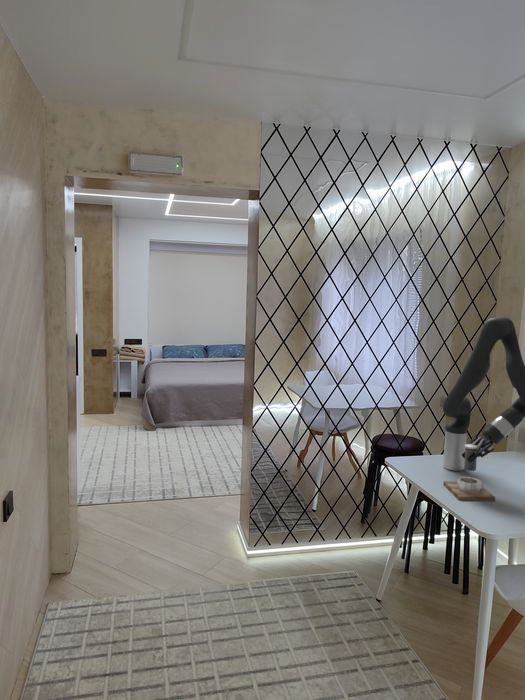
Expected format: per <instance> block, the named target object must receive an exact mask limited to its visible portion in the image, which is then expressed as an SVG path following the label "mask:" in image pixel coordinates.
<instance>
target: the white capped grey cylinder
mask: <svg viewBox="0 0 525 700" xmlns="http://www.w3.org/2000/svg"><path fill="white" fill-rule="evenodd" d="M476 449H477V445H472V444H468V443H466V444H465V462H464V470H466V471H470V472H471V471H472V472H474V471H477V461H478V459H477V458H478V457H477V458H476V459H475V460H474V461H472V462H471V463H470V462H469V461H468V460H467V458H468V457H469V456H470V455H471V454H472V453H474V451H475V450H476Z"/></svg>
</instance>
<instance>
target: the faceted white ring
mask: <svg viewBox="0 0 525 700" xmlns="http://www.w3.org/2000/svg"><path fill="white" fill-rule="evenodd" d="M456 481H457V488H458V489H459V490H461V491H463V492H468V493H478V492H480V488H481V486H482V481H481V480H480V479H478V478H475V477H471V476H458V477H457V479H456Z"/></svg>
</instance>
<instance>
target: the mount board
mask: <svg viewBox="0 0 525 700" xmlns="http://www.w3.org/2000/svg"><path fill="white" fill-rule="evenodd" d="M443 486H444V487H445V488H446V489H447V490H448V491H449V492H450V493H451V494H452V495H453V496H454V497H455V498H456V499H457V500H458V501H482V502H483V501H491V502H495V501H496V496H494V495H493V494H492V493H491V492H490V491H488V490H487V489H486V488H485V487H484V486H482V485H481V488H480V492H478V493H468V492H463V491H461V490H459V489H458V488H457V480H456V481H451V480H450V481H446V480H444V481H443Z"/></svg>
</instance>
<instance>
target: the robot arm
mask: <svg viewBox="0 0 525 700" xmlns="http://www.w3.org/2000/svg"><path fill="white" fill-rule="evenodd" d="M477 338H478V339H477V341H476V343H475V346H474V347H473V350H472V351H471V354H470V355H469V358H468V359H467V361H466V363H465V365H464V367H463V369H462V371H461V374H460V375H459V377H458V379H457V381H456V383H455V384H454V386H453V387H452V389H451V390H450V392H449V393H448V395H447V396H446V398H445V400H444V401H443V405H442V412H443V414H444V415H445V416H446V417H448V418H452V419H451V420H450V421H449V422H448V423H446V425H445V433H444V449H443V462H442V465H443V468H444V469H446V470H448V471H454V472H455V471H456V472H462V471H464V470H465V469H464V462H465V444H472V445H477V449H476V450H475V451H474V453H472V454H471V455H470V456H469V457H468V458H467V460H468V461H469V462H470V463H471V462H472V461H474V460H475V459H476V458H479V457H480V458H484V457H486V456H487V455H488V454H490V453H491V452H493V451H494V450H495V447H494V446H493V445H498V444H500V443H502V441H503V440H504V439H505V438H506V437H507V436H508V435H510V434H511V432H512V431H513V430H514V429H516V427H517V426H518V425H519V424H521V423H522V422H523V420H524V418H525V363H524V360H523V356H522V352H521V347H520V344H519V340H518V334H517V331H516V327H515V324H514V322H513V320H511V319H510V318H509V317H504V316H500V317H499V316H498V317H491V318H489V319H487V320H486V321H485V322H484V324H483V325H482V328H481V329H480V334H479V335H478V337H477ZM499 340H500V341H501V343H502V345H503V346H504V347H503V348H504V351H505V369H506V373H507V376H508V379H509V380H510V383H511V385H512V387H513V388H514V389H515V390H516V392H517V394H518V396H519V397H518V398H517V399H516V400H515V401H514V402H513V403H512V404H511V405H510V406H509V407H508V408H506V409H505V410H504V411H502V413H500V414H499V416H497V417H496V418H494V419H493V420H492V421H491V422H490V423H489V424H487V425H486V427H484V428H483V429H482V430H481V432H482V435H480V436H477V435H476V434H475V435H474V436H473V437H472V439H471V440H470V441H469V442H468V443H467V440H468V439H467V436H468V429H469V427H470V421H471V414H472V404H471V402H470V400H469V398H467V395H469V394H470V393H471V392H472V391H473V390H474V389H476V388H477V387H478V386H479V385H480V384H481V383H482V382H483V381H484V379H485V377H486V376H487V374H488V372H489V369H490V368H491V353H492V351H493V349H494V346H495V345H496V343H497V342H499Z"/></svg>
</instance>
